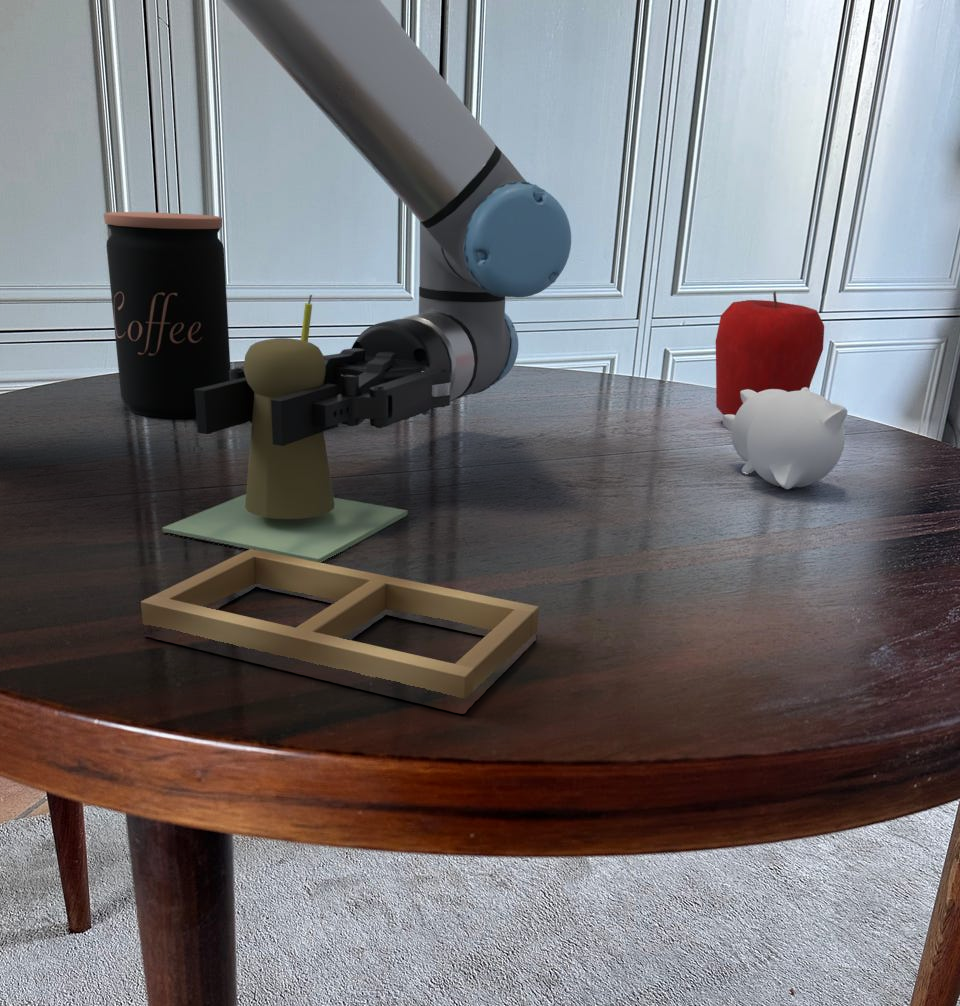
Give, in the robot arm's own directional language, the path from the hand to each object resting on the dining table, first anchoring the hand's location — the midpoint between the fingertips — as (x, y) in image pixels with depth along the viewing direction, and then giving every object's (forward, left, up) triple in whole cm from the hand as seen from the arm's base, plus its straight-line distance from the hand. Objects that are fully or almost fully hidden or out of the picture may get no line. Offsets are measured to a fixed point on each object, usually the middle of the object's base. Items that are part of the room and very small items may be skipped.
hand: (238, 417), depth 63 cm
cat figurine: (+29, +37, -8) cm, 48 cm away
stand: (+13, -10, -8) cm, 18 cm away
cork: (0, +5, -7) cm, 9 cm away
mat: (0, +5, -8) cm, 10 cm away
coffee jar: (-30, +31, -8) cm, 44 cm away
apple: (+23, +58, -8) cm, 63 cm away
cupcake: (-17, +32, -8) cm, 37 cm away
